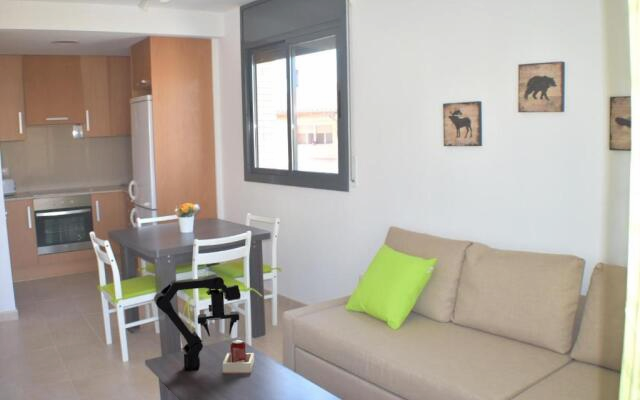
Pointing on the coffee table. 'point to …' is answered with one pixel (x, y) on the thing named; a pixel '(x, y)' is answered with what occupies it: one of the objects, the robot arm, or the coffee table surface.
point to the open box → (238, 364)
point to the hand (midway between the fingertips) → (219, 335)
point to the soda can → (238, 350)
